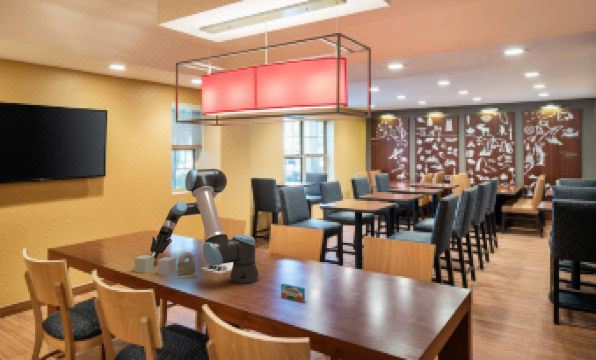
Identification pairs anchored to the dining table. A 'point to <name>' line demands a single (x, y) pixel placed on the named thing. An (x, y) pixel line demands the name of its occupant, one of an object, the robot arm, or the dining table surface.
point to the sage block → (144, 264)
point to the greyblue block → (166, 266)
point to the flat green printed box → (293, 292)
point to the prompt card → (186, 270)
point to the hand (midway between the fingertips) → (150, 262)
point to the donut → (186, 255)
